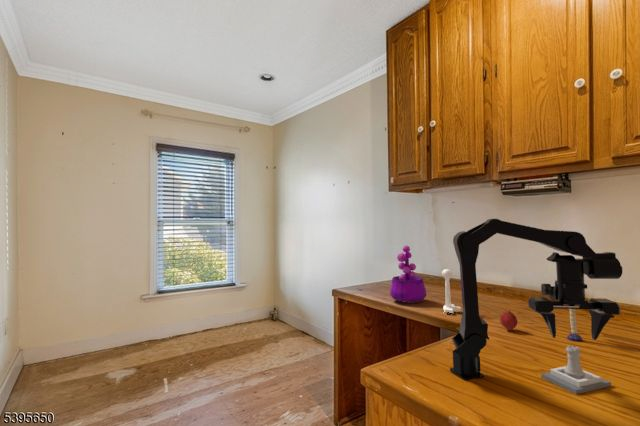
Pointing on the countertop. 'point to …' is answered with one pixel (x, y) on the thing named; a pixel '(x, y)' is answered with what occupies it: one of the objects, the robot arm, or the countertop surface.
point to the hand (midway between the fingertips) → (573, 338)
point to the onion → (508, 320)
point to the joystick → (448, 293)
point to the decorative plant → (407, 281)
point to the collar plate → (575, 381)
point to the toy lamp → (573, 327)
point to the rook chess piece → (574, 363)
